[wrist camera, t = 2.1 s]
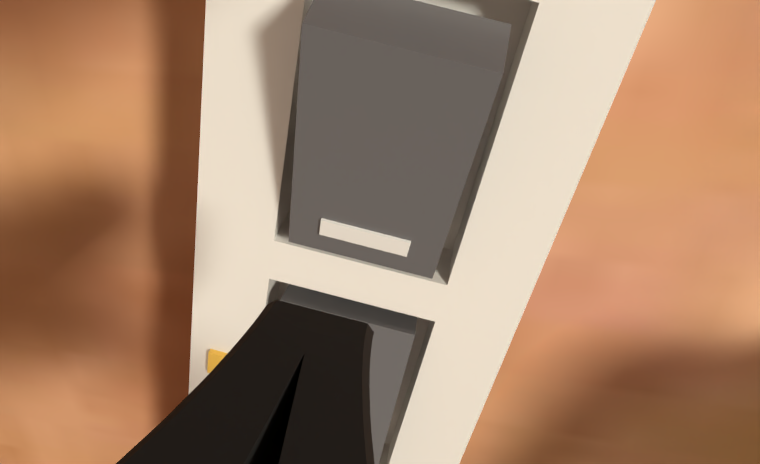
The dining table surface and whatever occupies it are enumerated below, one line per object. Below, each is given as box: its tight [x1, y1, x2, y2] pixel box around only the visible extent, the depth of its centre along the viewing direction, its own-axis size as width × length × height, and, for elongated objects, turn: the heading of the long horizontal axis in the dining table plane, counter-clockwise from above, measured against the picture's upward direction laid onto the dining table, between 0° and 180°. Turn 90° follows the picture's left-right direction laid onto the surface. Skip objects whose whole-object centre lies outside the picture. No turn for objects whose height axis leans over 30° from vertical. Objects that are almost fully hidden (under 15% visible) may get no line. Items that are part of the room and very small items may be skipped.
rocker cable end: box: [288, 0, 512, 279], centre depth 15 cm, size 3×6×2 cm, turn 169°
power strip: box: [189, 0, 656, 464], centre depth 19 cm, size 8×30×4 cm, turn 169°
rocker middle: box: [280, 284, 417, 464], centre depth 19 cm, size 3×6×2 cm, turn 169°
